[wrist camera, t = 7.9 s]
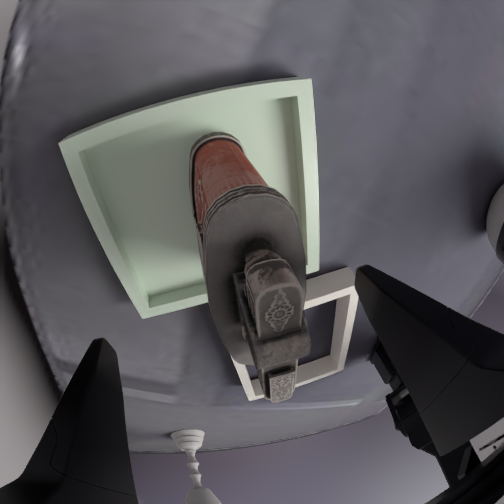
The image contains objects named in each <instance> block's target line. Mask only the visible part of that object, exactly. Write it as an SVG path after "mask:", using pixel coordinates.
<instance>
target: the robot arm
mask: <svg viewBox="0 0 504 504" xmlns="http://www.w3.org/2000/svg"><path fill="white" fill-rule="evenodd" d="M354 286H355V290H356V292H357V294H358V297H359V299H360V301H361V303H362V305H363V307H364V310H365V312H366V314H367V316H368V319H369V321H370V323H371V325H372V327H373V329H374V330H375V332H376V334H377V336H378V337H379V338H378V341H377V344H376V347H375V349H374V352H373V355H372V358H371V360H370V362H371V364H374V365H375V367H376V369H377V371H378V372H379V374H380V376H381V378H382V379H383V381H384V383H385V384H390V386H391V388H392V390H393V392H392V393H390V394H388V395H386V402H387V404H388V406H389V408H390V411H391V414H392V417H393V420H394V424H395V428H396V430H397V431H401V432H402V434H403V435H404V436H405V437H409V440H410V442H411V444H412V446H414V447H416V448H417V449H421V450H423V451H425V452H427V453H429V454H431V455H433V456H435V457H436V458H437V460H438V462H439V465H440V467H441V469H442V471H443V473H444V475H445V477H446V480H447V482H448V484H449V486H450V487H449V488H448V489H447V490H445V491H444V492H442V493H441V494H439V495H438V496H436V497H435V498H433V499H432V500H430V501H429V502H427V503H425V504H504V334H501V333H499V332H497V331H495V330H492V329H491V328H488V327H486V326H484V325H482V324H480V323H477V322H475V321H473V320H471V319H469V318H467V317H465V316H463V315H462V314H460V313H458V312H456V311H454V310H452V309H451V308H447V306H445V305H443V304H442V303H440V302H438V301H436V300H434V299H432V298H431V297H429V296H427V295H425V294H423V293H421V292H420V291H418V290H416V289H414V288H412V287H410V286H408V285H406V284H405V283H403V282H401V281H399V280H397V279H395V278H393V277H391V276H389V275H387V274H386V273H384V272H382V271H380V270H378V269H376V268H374V267H372V266H370V265H363V266H360V267H358V268H357V269H356V275H355V283H354ZM0 504H138V499H137V496H136V490H135V485H134V480H133V474H132V468H131V462H130V456H129V448H128V441H127V433H126V423H125V413H124V401H123V392H122V385H121V379H120V373H119V366H118V359H117V354H116V352H115V350H114V349H113V348H112V346H111V345H110V344H109V343H108V341H107V340H106V339H105V338H98V339H94V340H93V341H92V343H91V344H90V346H89V348H88V350H87V351H86V353H85V355H84V357H83V358H82V360H81V362H80V364H79V366H78V367H77V369H76V371H75V373H74V375H73V377H72V379H71V380H70V382H69V384H68V386H67V388H66V390H65V392H64V394H63V396H62V398H61V400H60V402H59V404H58V406H57V408H56V410H55V412H54V414H53V416H52V419H51V420H50V422H49V424H48V426H47V428H46V430H45V432H44V434H43V437H42V439H41V440H40V442H39V444H38V446H37V448H36V450H35V451H34V454H33V455H32V457H31V459H30V461H29V462H28V464H27V466H26V468H25V470H24V471H23V473H22V474H21V475H20V477H19V478H18V479H16V480H14V481H13V482H11V483H9V484H7V485H5V486H3V487H1V488H0Z"/></svg>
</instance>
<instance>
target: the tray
mask: <svg viewBox="0 0 504 504" xmlns="http://www.w3.org/2000/svg"><path fill="white" fill-rule="evenodd" d="M212 132H225V133H228V134H231V135H233V136H234V137H235V138H237V139H238V140H239V142H240V143H241V144H242V146H243V148H244V149H245V152H246V155H247V158H248V160H249V161H250V162H251V164H252V165H253V166H254V168H255V169H256V170H257V171H258V173H259V174H260V175H261V177H262V178H263V179H264V181H265V182H266V183H267V185H268V186H269V187H272V188H275V189H276V190H277V191H278V192H280V193H281V194H282V195H284V196H285V198H286V199H287V200H288V202H289V203H290V204H291V205H292V207H293V208H294V210H295V212H296V214H297V216H298V220H299V225H300V230H301V235H302V240H303V245H304V251H305V256H306V274H309V273H312V272H316V271H319V190H318V163H317V144H316V128H315V114H314V101H313V90H312V80H311V79H310V78H304V77H289V78H280V79H271V80H263V81H256V82H249V83H243V84H237V85H232V86H226V87H221V88H216V89H211V90H206V91H202V92H197V93H193V94H189V95H185V96H181V97H177V98H173V99H169V100H166V101H162V102H158V103H155V104H152V105H148V106H145V107H142V108H139V109H136V110H133V111H130V112H127V113H124V114H121V115H118V116H115V117H112V118H110V119H107V120H104V121H102V122H99V123H96V124H94V125H91V126H89V127H86V128H84V129H82V130H79V131H77V132H75V133H72V134H70V135H68V136H67V137H66V138H64V139H63V140H62V141H60V142H59V143H58V144H59V147H60V149H61V152H62V155H63V158H64V160H65V163H66V166H67V168H68V171H69V174H70V176H71V179H72V181H73V184H74V186H75V188H76V191H77V193H78V196H79V198H80V200H81V203H82V205H83V207H84V209H85V212H86V214H87V216H88V218H89V220H90V223H91V225H92V227H93V229H94V231H95V233H96V235H97V237H98V239H99V241H100V243H101V245H102V247H103V249H104V251H105V253H106V255H107V257H108V259H109V261H110V263H111V265H112V267H113V268H114V270H115V272H116V274H117V276H118V278H119V279H120V281H121V283H122V285H123V287H124V288H125V290H126V292H127V294H128V295H129V297H130V299H131V300H132V302H133V304H134V306H135V307H136V309H137V311H138V312H139V314H140V315H141V317H142V319H145V318H149V317H153V316H157V315H161V314H165V313H169V312H173V311H177V310H181V309H184V308H188V307H192V306H196V305H200V304H204V303H207V302H208V296H207V290H206V283H205V279H204V275H203V270H202V265H201V259H200V253H199V246H198V238H197V231H196V225H195V222H194V219H193V213H192V206H191V198H190V189H189V158H190V151H191V147H192V146H193V144H194V143H195V142H196V140H197V139H199V138H200V137H202V136H203V135H205V134H208V133H212Z"/></svg>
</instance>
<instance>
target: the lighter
mask: <svg viewBox="0 0 504 504" xmlns="http://www.w3.org/2000/svg"><path fill="white" fill-rule="evenodd" d="M189 189H190V198H191V206H192V213H193V219H194V222H195V225H196V231H197V238H198V246H199V253H200V259H201V265H202V270H203V275H204V279H205V283H206V290H207V296H208V302H209V307H210V312H211V316H212V318H213V321H214V324H215V326H216V329H217V331H218V334H219V336H220V339H221V341H222V343H223V344H224V346H225V347H226V349H227V350H228V352H229V353H230V355H231V356H232V358H233V359H234V360H235V361H236V362H237V363H239V364H243V365H255V366H256V368H257V374H258V378H259V381H260V384H261V387H262V390H263V394H264V397H265V399H268V400H271V402H279V401H283V400H286V399H289V398H290V397H292V394H293V391H294V390H295V385H296V376H297V366H298V358H302V357H305V356H308V355H310V353H311V337H310V333H309V330H308V326H307V321H306V317H305V314H304V311H303V310H304V304H305V298H306V293H307V286H306V256H305V251H304V245H303V240H302V235H301V230H300V225H299V220H298V216H297V214H296V212H295V210H294V208H293V207H292V205H291V204H290V203H289V202H288V200H287V199H286V198H285V196H284V195H282V194H281V193H280V192H278V191H277V190H276V189H275V188H272V187H269V186H268V185H267V183H266V182H265V181H264V179H263V178H262V177H261V175H260V174H259V173H258V171H257V170H256V169H255V168H254V166H253V165H252V164H251V162H250V161H249V160H248V158H247V155H246V152H245V149H244V148H243V146H242V144H241V143H240V142H239V140H238V139H237V138H235V137H234V136H233V135H231V134H228V133H225V132H212V133H208V134H205V135H203V136H202V137H200V138H199V139H197V140H196V142H195V143H194V144H193V146H192V147H191V151H190V158H189Z"/></svg>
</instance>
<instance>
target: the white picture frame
mask: <svg viewBox="0 0 504 504" xmlns="http://www.w3.org/2000/svg"><path fill="white" fill-rule="evenodd" d="M354 283H355V275H354V273H353V272H352V271H351V269H350V268H349V267H345V268H342V269H339V270H336V271H333V272H330V273H326V274H323V275H320V276H317V277H314V278H310V279H307V280H306V286H307V293H306V298H305V304H304V309H307V308H310V307H313V306H316V305H319V304H322V303H325V302H328V301H331V300H334V299H337V302H336V312H335V320H334V329H333V337H332V344H331V351H330V355H328V356H325V357H323V358H320V359H317V360H314V361H312V362H309V363H306V364H303V365H300V366H297V376H296V385H295V387H298V386H301V385H304V384H307V383H309V382H312V381H315V380H318V379H321V378H323V377H326V376H329V375H331V374H334V373H336V372H339V371H342V370H343V368H344V364H345V360H346V356H347V351H348V347H349V343H350V338H351V333H352V328H353V323H354V318H355V313H356V308H357V302H358V294H357V292H356V290H355V286H354ZM231 358H232V356H231ZM232 360H233V363H234V365H235V368H236V370H237V373H238V375H239V378H240V380H241V383H242V385H243V387H244V390H245V392H246V395H247V397H248V399H249V401H252V400H255V399H259V398H263V397H264V394H263V390H262V387H261V384H260V381H259V378H258V379H255V380H250V377H249V374H248V371H247V368H246V365H243V364H239V363H237V362H236V361H235V360H234V359H233V358H232Z"/></svg>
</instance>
